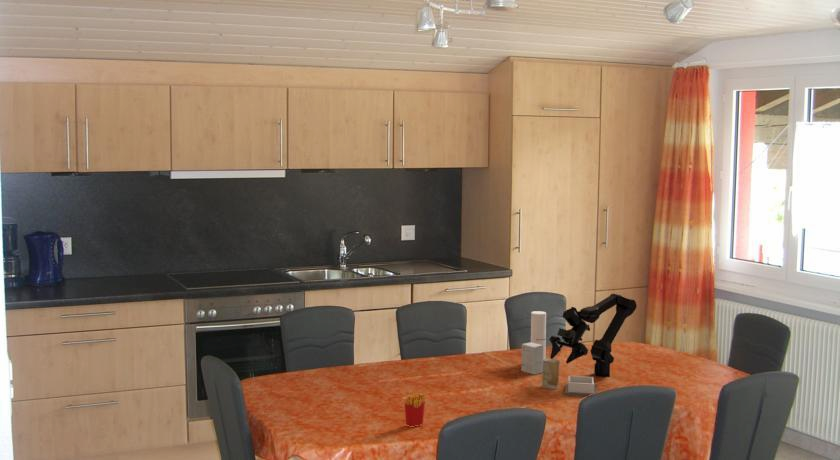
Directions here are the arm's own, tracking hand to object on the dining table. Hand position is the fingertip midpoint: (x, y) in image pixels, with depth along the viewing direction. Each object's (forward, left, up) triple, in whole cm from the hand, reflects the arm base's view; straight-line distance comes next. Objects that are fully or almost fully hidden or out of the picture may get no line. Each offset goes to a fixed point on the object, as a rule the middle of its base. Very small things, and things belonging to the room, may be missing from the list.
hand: (558, 360), depth 359 cm
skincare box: (+3, +4, -11) cm, 12 cm away
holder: (-10, +7, -11) cm, 16 cm away
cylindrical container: (+10, -32, -11) cm, 36 cm away
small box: (+12, -18, -11) cm, 25 cm away
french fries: (+52, +61, -11) cm, 81 cm away
